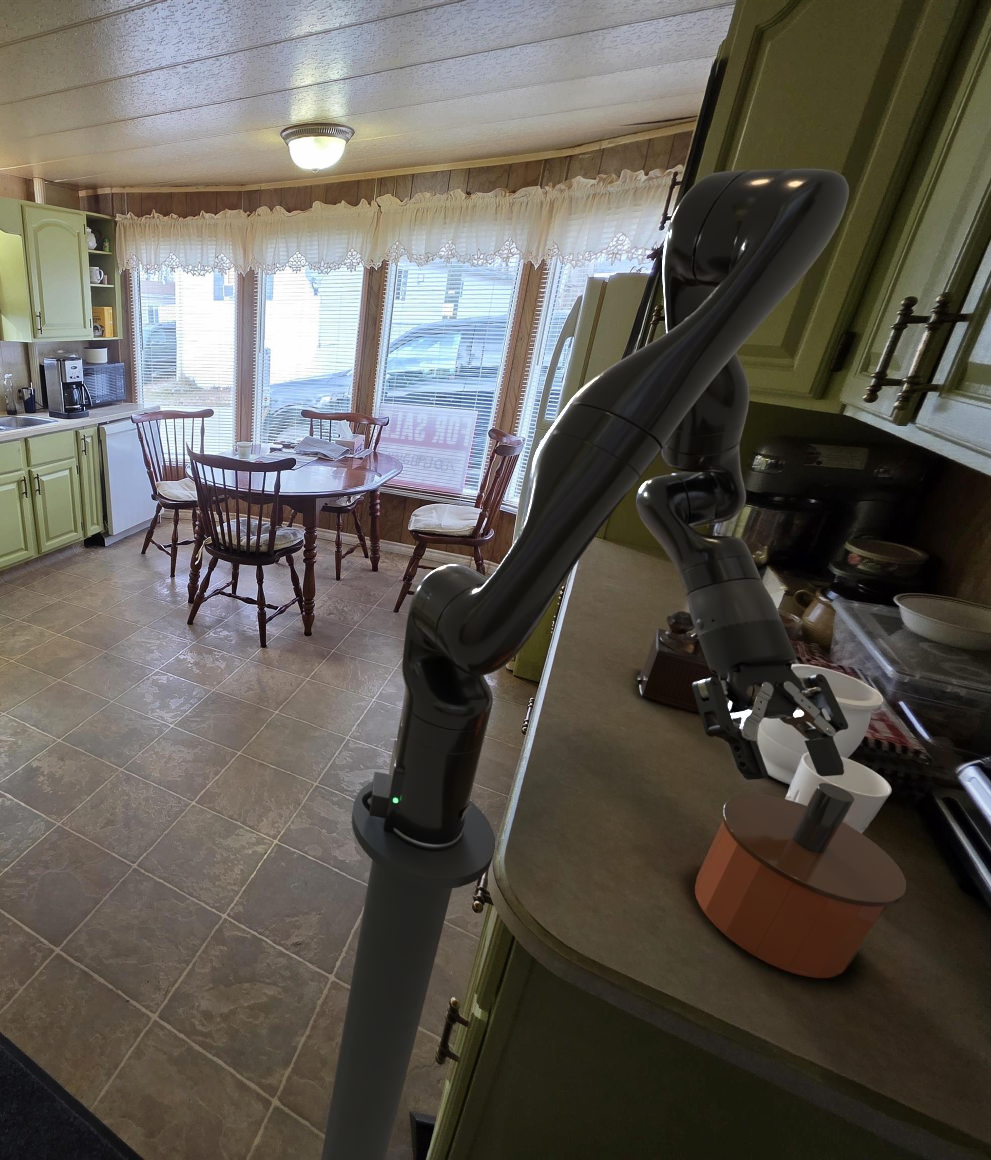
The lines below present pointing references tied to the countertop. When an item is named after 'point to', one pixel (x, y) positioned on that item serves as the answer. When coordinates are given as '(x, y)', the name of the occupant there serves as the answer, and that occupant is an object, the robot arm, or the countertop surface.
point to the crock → (779, 913)
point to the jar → (788, 744)
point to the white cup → (855, 780)
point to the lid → (815, 846)
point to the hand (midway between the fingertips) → (794, 777)
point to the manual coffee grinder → (674, 665)
